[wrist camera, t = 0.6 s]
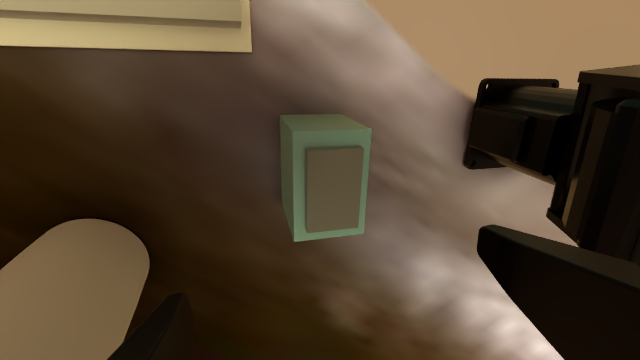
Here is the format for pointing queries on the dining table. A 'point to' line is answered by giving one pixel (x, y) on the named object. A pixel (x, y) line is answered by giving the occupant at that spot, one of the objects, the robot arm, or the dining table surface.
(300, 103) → the dining table surface
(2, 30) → the mount board
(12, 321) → the mug
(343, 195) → the block
